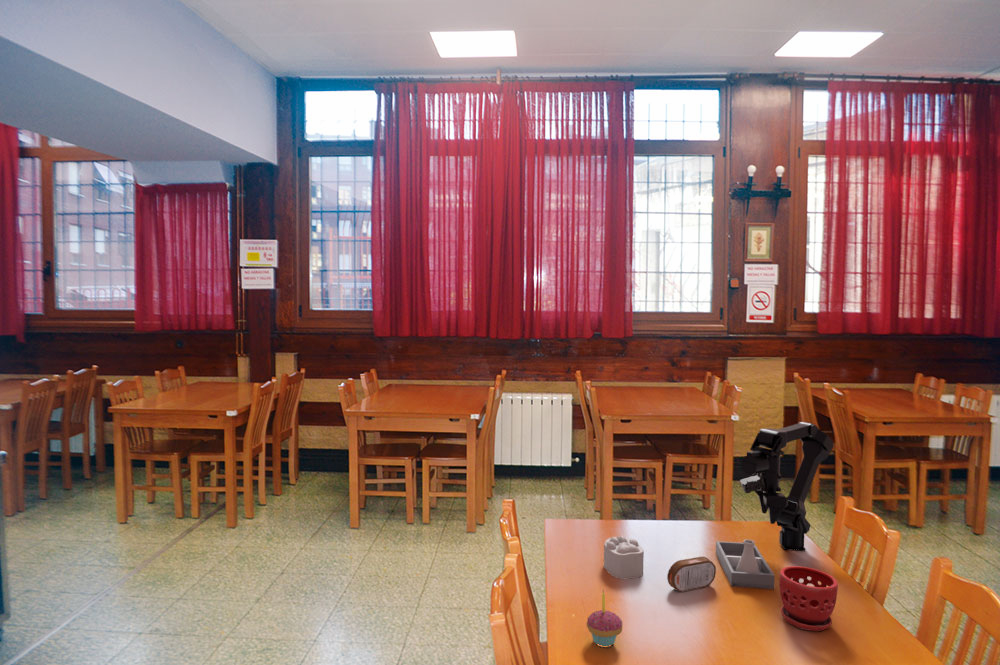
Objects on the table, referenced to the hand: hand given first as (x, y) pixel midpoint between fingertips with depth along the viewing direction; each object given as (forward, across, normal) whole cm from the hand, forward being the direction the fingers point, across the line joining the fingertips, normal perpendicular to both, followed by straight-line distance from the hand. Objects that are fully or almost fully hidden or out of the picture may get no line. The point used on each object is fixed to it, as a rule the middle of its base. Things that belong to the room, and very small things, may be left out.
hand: (768, 518), depth 197 cm
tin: (+12, +26, -27) cm, 39 cm away
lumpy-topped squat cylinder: (+12, +16, -46) cm, 50 cm away
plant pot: (+12, +40, -1) cm, 42 cm away
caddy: (+12, +12, -10) cm, 20 cm away
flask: (+11, +17, -10) cm, 23 cm away
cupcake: (+12, +57, -52) cm, 78 cm away
